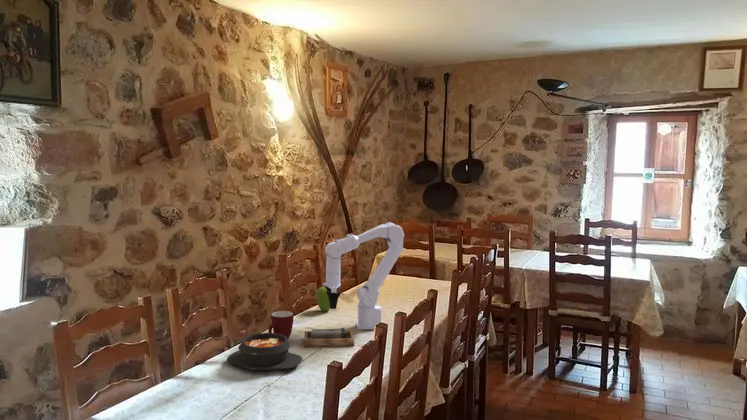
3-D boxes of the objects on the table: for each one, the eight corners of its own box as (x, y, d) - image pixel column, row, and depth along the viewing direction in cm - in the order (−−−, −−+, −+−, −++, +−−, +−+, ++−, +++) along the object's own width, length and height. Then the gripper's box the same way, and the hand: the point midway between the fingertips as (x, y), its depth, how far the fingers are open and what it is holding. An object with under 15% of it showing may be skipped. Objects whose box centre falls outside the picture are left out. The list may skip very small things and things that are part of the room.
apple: (322, 315, 233) (323, 289, 232) (311, 310, 239) (312, 285, 238) (338, 311, 239) (339, 286, 238) (327, 307, 245) (327, 282, 244)
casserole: (216, 371, 171) (216, 345, 170) (242, 350, 189) (242, 327, 188) (290, 379, 165) (290, 353, 165) (309, 357, 184) (310, 334, 183)
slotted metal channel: (345, 339, 201) (346, 327, 201) (346, 341, 199) (346, 329, 199) (310, 339, 200) (310, 327, 199) (310, 341, 198) (310, 329, 197)
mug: (279, 347, 193) (279, 320, 192) (262, 343, 197) (262, 316, 196) (297, 339, 202) (297, 313, 201) (280, 335, 206) (281, 309, 205)
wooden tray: (351, 336, 206) (351, 330, 205) (354, 346, 196) (354, 339, 196) (304, 337, 203) (304, 331, 203) (304, 347, 194) (304, 340, 193)
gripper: (322, 268, 219) (322, 301, 220) (323, 276, 205) (323, 311, 206) (339, 268, 220) (339, 301, 221) (342, 276, 206) (341, 311, 207)
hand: (332, 306), depth 214 cm, fingers open, 7 cm apart
